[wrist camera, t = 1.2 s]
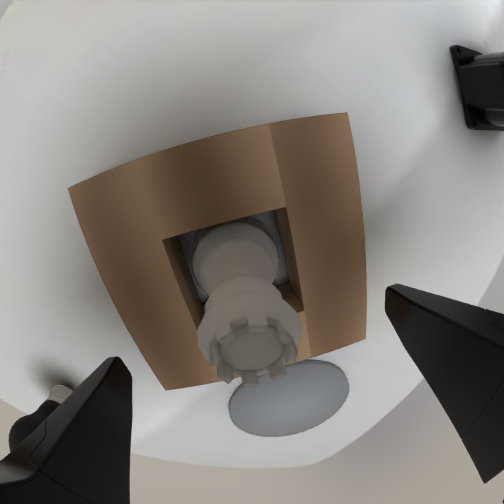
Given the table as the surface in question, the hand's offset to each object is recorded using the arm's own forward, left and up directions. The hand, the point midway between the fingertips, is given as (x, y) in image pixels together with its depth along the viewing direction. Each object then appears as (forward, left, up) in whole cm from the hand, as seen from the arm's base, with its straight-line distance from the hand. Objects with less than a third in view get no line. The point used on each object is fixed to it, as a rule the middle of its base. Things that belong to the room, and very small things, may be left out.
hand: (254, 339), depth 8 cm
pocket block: (0, 0, -7) cm, 7 cm away
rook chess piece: (0, 0, -7) cm, 7 cm away
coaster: (-1, +14, -7) cm, 16 cm away
